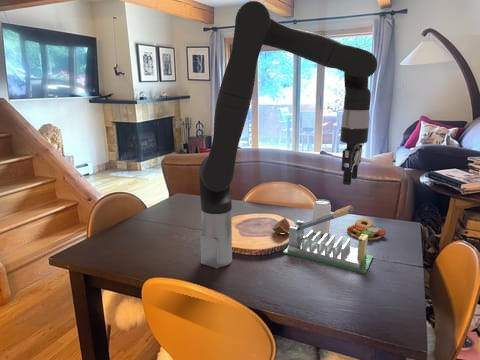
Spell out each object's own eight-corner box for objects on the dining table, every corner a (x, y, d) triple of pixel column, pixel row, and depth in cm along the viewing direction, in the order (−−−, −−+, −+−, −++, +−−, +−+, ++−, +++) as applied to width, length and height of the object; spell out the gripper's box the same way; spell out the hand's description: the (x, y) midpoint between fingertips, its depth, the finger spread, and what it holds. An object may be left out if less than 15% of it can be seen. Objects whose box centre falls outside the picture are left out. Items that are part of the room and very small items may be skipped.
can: (329, 236, 129) (331, 205, 126) (311, 234, 131) (313, 203, 127) (328, 229, 136) (331, 199, 132) (311, 227, 137) (313, 198, 134)
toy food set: (362, 224, 141) (362, 217, 140) (392, 236, 130) (393, 228, 129) (339, 232, 133) (340, 224, 132) (369, 245, 123) (370, 236, 122)
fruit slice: (287, 239, 127) (287, 226, 125) (269, 236, 129) (269, 224, 128) (292, 230, 134) (293, 218, 133) (275, 228, 136) (276, 216, 135)
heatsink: (283, 253, 116) (284, 227, 114) (296, 239, 126) (298, 216, 124) (365, 274, 104) (368, 246, 101) (373, 257, 114) (375, 231, 111)
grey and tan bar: (293, 234, 117) (290, 228, 117) (298, 229, 121) (295, 224, 121) (351, 214, 106) (348, 208, 106) (355, 210, 109) (352, 204, 109)
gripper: (347, 122, 109) (343, 174, 114) (334, 127, 97) (330, 185, 102) (373, 124, 105) (367, 177, 110) (363, 129, 93) (357, 189, 98)
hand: (350, 181), depth 106 cm, fingers open, 7 cm apart
